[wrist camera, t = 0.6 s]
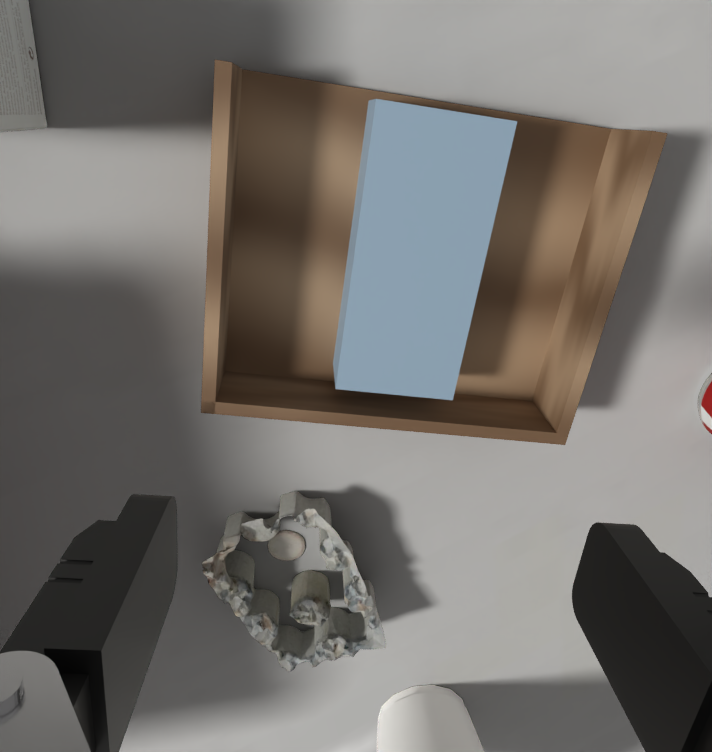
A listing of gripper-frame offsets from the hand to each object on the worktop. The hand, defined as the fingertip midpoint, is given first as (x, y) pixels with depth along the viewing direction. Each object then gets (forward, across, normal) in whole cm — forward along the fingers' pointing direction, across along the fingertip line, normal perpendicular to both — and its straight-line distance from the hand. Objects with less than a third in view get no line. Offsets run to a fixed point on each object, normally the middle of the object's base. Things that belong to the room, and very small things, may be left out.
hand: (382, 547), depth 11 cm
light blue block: (+18, -2, -3) cm, 18 cm away
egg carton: (+20, +1, +16) cm, 26 cm away
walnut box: (+19, -2, -2) cm, 19 cm away
